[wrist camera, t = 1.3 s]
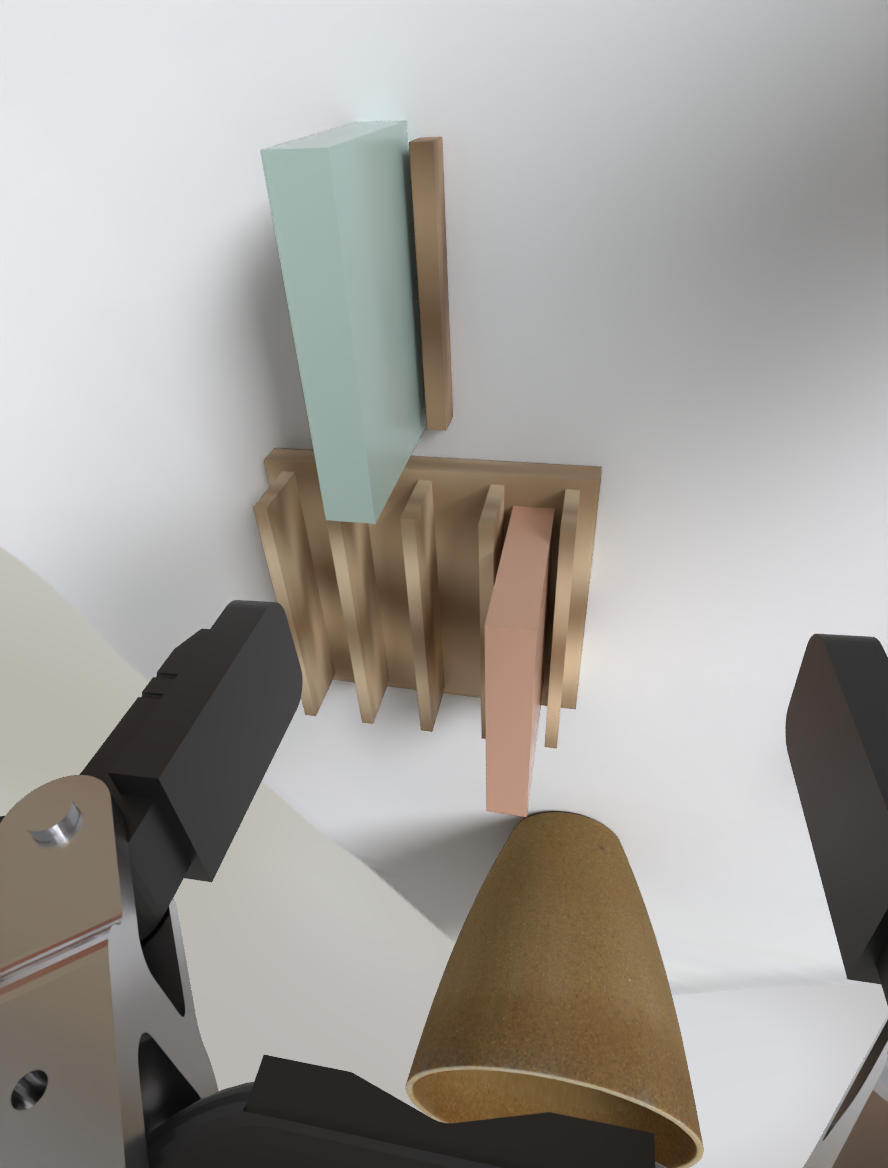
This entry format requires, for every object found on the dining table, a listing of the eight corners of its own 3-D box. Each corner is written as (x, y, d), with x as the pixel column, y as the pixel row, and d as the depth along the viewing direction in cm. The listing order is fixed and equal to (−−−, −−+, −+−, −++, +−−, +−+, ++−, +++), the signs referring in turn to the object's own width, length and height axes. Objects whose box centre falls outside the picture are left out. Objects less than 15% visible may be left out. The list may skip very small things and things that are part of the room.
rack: (274, 448, 32) (232, 495, 28) (601, 466, 29) (598, 522, 26) (320, 662, 40) (293, 719, 37) (576, 693, 38) (572, 756, 34)
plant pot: (422, 834, 50) (356, 1092, 38) (549, 743, 41) (517, 1044, 28) (581, 921, 53) (568, 1187, 41) (732, 855, 44) (775, 1171, 31)
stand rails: (324, 140, 24) (309, 145, 23) (442, 137, 23) (433, 141, 22) (358, 412, 30) (348, 425, 29) (452, 416, 29) (446, 430, 28)
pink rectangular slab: (513, 505, 30) (484, 625, 24) (554, 508, 29) (536, 631, 23) (509, 682, 36) (486, 810, 30) (543, 685, 36) (526, 817, 30)
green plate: (356, 121, 23) (260, 149, 17) (407, 120, 23) (327, 147, 17) (386, 422, 30) (325, 520, 24) (426, 424, 30) (375, 523, 24)
